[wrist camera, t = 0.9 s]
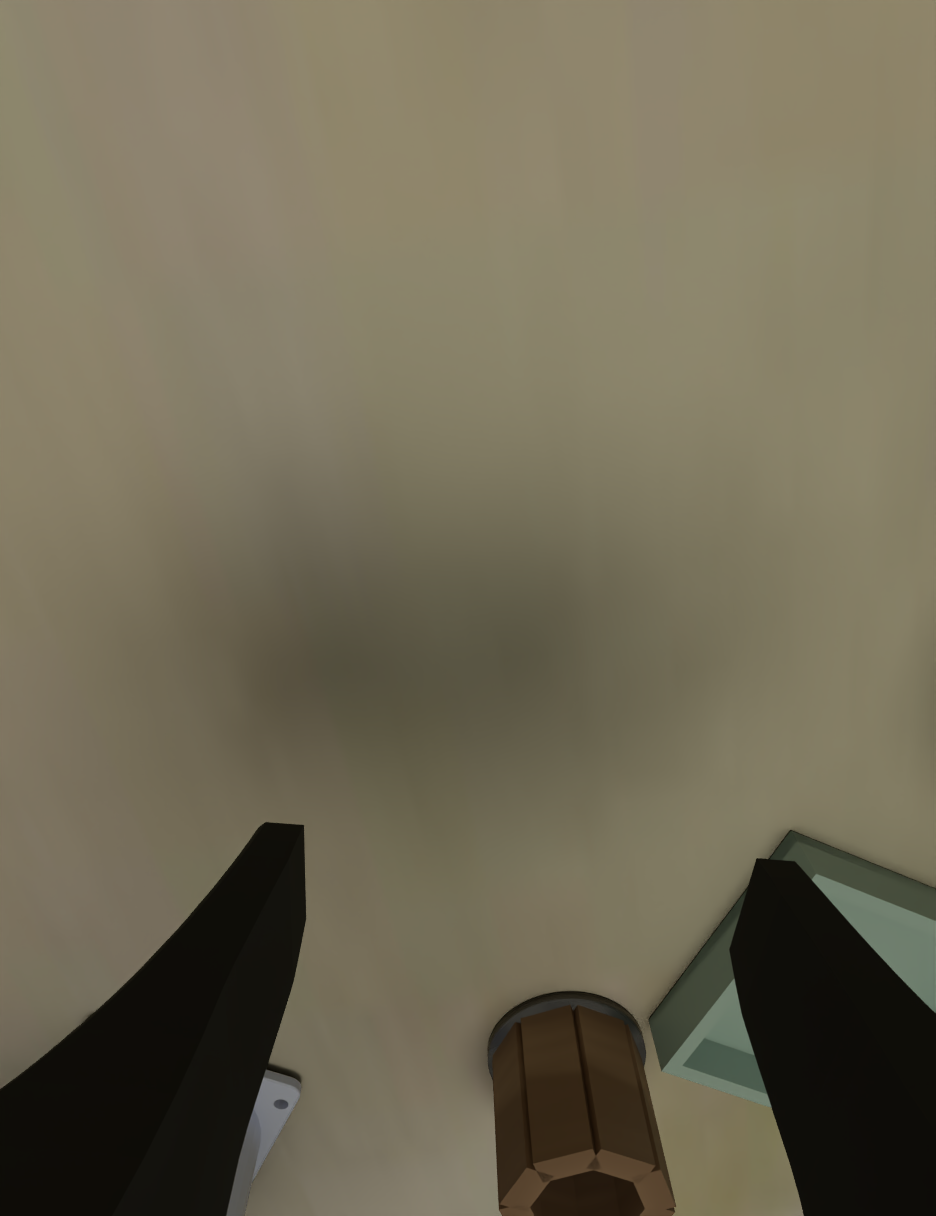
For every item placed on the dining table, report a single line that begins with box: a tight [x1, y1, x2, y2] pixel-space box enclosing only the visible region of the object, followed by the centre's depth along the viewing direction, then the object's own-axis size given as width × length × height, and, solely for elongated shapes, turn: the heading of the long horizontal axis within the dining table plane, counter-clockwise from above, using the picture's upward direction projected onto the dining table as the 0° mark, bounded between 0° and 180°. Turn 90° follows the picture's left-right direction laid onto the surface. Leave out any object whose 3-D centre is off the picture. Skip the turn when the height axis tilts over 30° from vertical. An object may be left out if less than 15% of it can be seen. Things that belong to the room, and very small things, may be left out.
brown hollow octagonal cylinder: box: [492, 1005, 676, 1216], centre depth 27 cm, size 6×5×5 cm
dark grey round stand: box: [488, 992, 646, 1079], centre depth 29 cm, size 6×6×3 cm
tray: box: [649, 831, 936, 1108], centre depth 28 cm, size 9×9×2 cm
